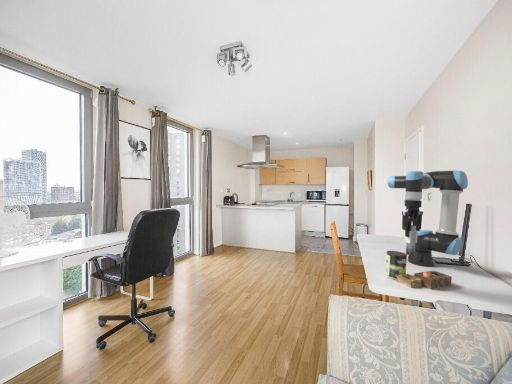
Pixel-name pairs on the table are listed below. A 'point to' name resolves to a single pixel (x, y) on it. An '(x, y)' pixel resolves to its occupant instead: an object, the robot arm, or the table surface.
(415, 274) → the socket block
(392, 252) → the coffee can
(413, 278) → the open wooden tray
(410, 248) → the peg
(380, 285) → the table surface
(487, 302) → the table surface
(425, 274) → the button
